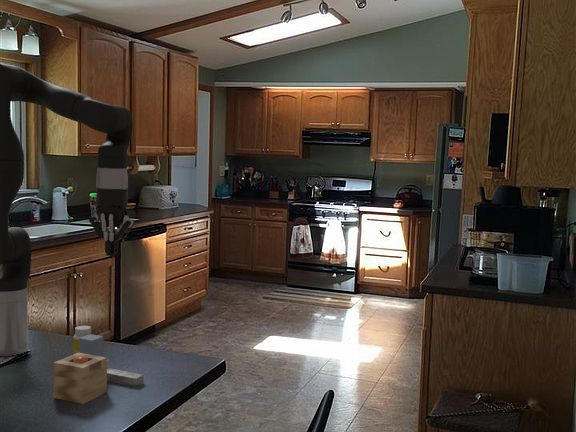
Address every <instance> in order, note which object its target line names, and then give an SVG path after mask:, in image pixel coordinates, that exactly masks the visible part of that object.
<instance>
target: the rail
mask: <svg viewBox="0 0 576 432" xmlns="http://www.w3.org/2000/svg"><path fill="white" fill-rule="evenodd" d="M144 377H145V376H144V374H142V373H138V372H137V373H135V372H131V371H127V370H126V371H125V370H121V369H120V370H119V369H114V368H110V367H109V368H107V383H114V384H118V385H123V386H130V387H135V388H137V387H139V386H140V385H143V384H144V382H145V381H144Z"/></svg>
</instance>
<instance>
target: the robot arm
mask: <svg viewBox="0 0 576 432" xmlns="http://www.w3.org/2000/svg"><path fill="white" fill-rule="evenodd" d="M11 102H13V103H14V102H23V103H30V104H34V105H35V104H36V105H38V106H41V107H44V108H46V109H48V110H49V111H51V112H52V113H55V114H56V115H58V116H60V117H63V118H66V119H68V120H70V121H74V122H77V123H80V124H83V125H84V126H87V127H88V128H90V129H92V130H95V131H97V132H100V133H103V134H106V137H105V142H104V143H102V144H100V145H99V146H98V148H97V169H96V170H97V171H96V172H97V173H96V181H95V182H96V183H95V185H96V191H95V192H96V193H95V196H96V197H95V202H96V206H97V208H96V213H95V214H94V215H93V216H90V217H88V221H89V223H90V224H91V226H92V228H93V230H94V232H95V233H96V235H97V236H98V238H101V239H102V240H104V249H105V250H104V252H105V254H106V255H105V256H108V257H115V256H117V254H118V252H119V241H120V240H123V239H126V237H127V235H128V234H129V233H130V232H131V230H132V228H133V227H134V226H135V224H136V221H135V220H134V219H131V218H130V217H129V215H128V214H129V213H128V210H127V206H128V203H129V202H128V201H129V200H128V199H129V198H128V197H129V196H128V194H129V176H128V150H129V145H130V143H131V142H130V141H131V137H132V134H133V126H134V122H133V117H132V113H131V111H130V110H129V109H128V108H127V107H125V106H122V105H118V104H109V103H105V102H102V101H99V100H96V99H95V98H93V97H91V96H89V95H87V94H84V93H81V92H78V91H76V90H72V89H69V88H65V87H63V86H59V85H56V84H53V83H50V82H48V81H46V80H43V79H41V78H39V77H38V76H36V75H34V74H32V72H31V73H30V72H29V71H27V70H26V69H23V68H22V67H20V66H17V65H12V64H8V63H2V62H0V265H2V266H1V268H0V357H12V355H14V356H17V355H16V354H19V355H22V354H24V352H25V353H26V352H28V350H29V321H28V320H29V318H28V317H29V316H28V315H29V314H28V313H29V312H28V306H29V304H28V301H29V300H28V297H29V296H28V282H29V280H30V276H31V271H32V269H31V268H32V267H31V265H32V241H31V238H30V235H29V233H28V232H27V231H26V229H24V228H22V227H21V226H20V227H19V226H12V227H9V217H10V211H11V208H12V205H13V202H15V201H14V200H15V199H16V197H17V195H18V194H19V191H20V190H21V187H22V185H23V182H24V178H25V154H24V153H25V152H24V149H23V146H22V143H21V141H20V138H19V137H18V133H17V132H16V131H15V127H14V125H13V121H12V115H11V104H12V103H11ZM21 353H22V354H21Z"/></svg>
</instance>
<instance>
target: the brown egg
mask: <svg viewBox="0 0 576 432" xmlns="http://www.w3.org/2000/svg"><path fill="white" fill-rule="evenodd" d="M85 362H88V356H85V355H79V356H75V357H74V363H79V364H83V363H85Z"/></svg>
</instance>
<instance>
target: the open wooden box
mask: <svg viewBox="0 0 576 432" xmlns="http://www.w3.org/2000/svg"><path fill="white" fill-rule="evenodd" d="M79 355H85V356H88V362H85V363H83V364H79V363H74V357H75V356H79ZM107 360H108V357H106V356H105V357H104V356H103V357H101V356H95V355H90V354H84V353H76V354H74V355H73V354H71V355H68V356H66V357H64V358H62V359H59V360H57V361H54V362H53V398H54V399H58V400H63V401H67V402H71V403H76V404H81V405H85V404H87V403H89V402H90V401H92V400H94V399H97V398H98V397H100V396H102V395H104V394H106V393H107V392H108V381H107Z"/></svg>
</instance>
